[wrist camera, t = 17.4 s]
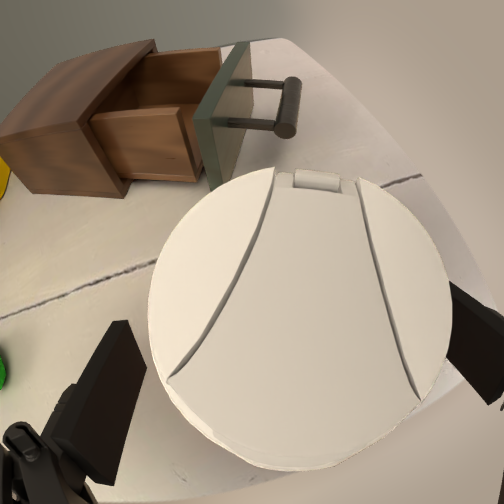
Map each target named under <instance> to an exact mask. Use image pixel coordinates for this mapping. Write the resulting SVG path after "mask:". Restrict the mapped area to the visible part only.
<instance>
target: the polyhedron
mask: <svg viewBox="0 0 504 504" xmlns="http://www.w3.org/2000/svg"><path fill="white" fill-rule="evenodd" d="M5 375H6V372H5V368H4V364H3V362H2V359H1V356H0V390H1V389H2V386H3V383H4V379H5Z"/></svg>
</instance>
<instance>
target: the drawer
mask: <svg viewBox="0 0 504 504" xmlns="http://www.w3.org/2000/svg"><path fill="white" fill-rule="evenodd" d="M253 87H254V88H270V89H282V93H281V98H280V102H279V107H278V112H277V116H276V121H275V120H264V119H251V118H250V115H251V112H252V109H253V106H254V100H253ZM301 90H302V82H301V80H300V79H298V78H297V77H288V78H286V79H285V81H284V82H283V81H273V80H257V79H252V68H251V52H250V42H237V43H236V45H235V46H234V48H233V49H232V51H231V52H230V54H229V55H228V57H227V59H226V60H225V62H224V63H223V64H222V57H221V49H220V47H216V48H197V49H185V50H174V51H166V52H158V53H151V54H146V55H145V56H144V57H143V58H142V59H141V60H140V61H139V62H138V63H137V64H136V65H135V66H134V67H133V68H132V69H131V70H130V71H129V72H128V73H127V74H126V75H125V77H124V78H123V79H122V80H121V81H120V82H119V83H118V84H117V85H116V86H115V88H114V89H113V90H112V91H111V92H110V93H109V94H108V96H107V97H106V98H105V99H104V100H103V102H102V103H101V104H100V105H99V106H98V108H97V109H96V110H95V111H94V113H93V114H92V115H91V117H90V118H89V119H88V120H87V123H88V125H89V127H90V128H91V130H92V132H93V134H94V136H95V137H96V139H97V141H98V143H99V144H100V146H101V148H102V150H103V151H104V153H105V155H106V157H107V158H108V160H109V162H110V164H111V165H112V167H113V169H114V170H115V172H116V174H117V175H118V177H119V178H130V179H151V180H168V181H182V182H195V183H196V182H197V181H198V178H199V176H200V173H201V170H202V168H203V165H204V167H205V171H206V175H207V179H208V182H209V186H210V190H211V192H212V191H213V190H215V189H216V188H218V187H219V186H221V185H223V184H225V183H227V182H229V181H230V179H231V176H232V173H233V169H234V166H235V163H236V160H237V156H238V153H239V150H240V147H241V144H242V140H243V137H244V134H245V131H246V129H256V130H268V131H274V133H275V134H276V135H277V136H278V137H280V138H282V139H290V138H292V137H294V136H295V134H296V130H297V122H298V114H299V106H300V98H301Z"/></svg>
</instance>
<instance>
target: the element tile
mask: <svg viewBox="0 0 504 504" xmlns="http://www.w3.org/2000/svg"><path fill="white" fill-rule="evenodd" d="M10 170H11V169H10V168H9V167H8V165H7V164H6V163H5V162H4V161H3V159H2V158H1V157H0V199H1V198H2V196H3V194H4V192H5V189H6V185H7V181H8V177H9V174H10Z"/></svg>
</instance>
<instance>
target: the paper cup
mask: <svg viewBox="0 0 504 504" xmlns="http://www.w3.org/2000/svg"><path fill="white" fill-rule="evenodd" d="M148 328H149V340H150V346H151V352H152V357H153V360H154V363H155V366H156V369H157V372H158V375H159V378H160V381H161V382H162V384H163V386H164V388H165V390H166V391H167V393H168V395H169V397H170V399H171V400H172V402H173V403H174V405H175V406H176V407H177V408H178V410H179V411H180V412H181V413H182V415H183V416H184V417H185V418H186V419H187V421H188V422H189V423H190V424H191V425H193V426H194V427H195V428H196V429H197V430H198V431H200V432H201V433H202V434H203V435H204V436H205V437H207V438H208V439H209V440H211V441H213V442H214V443H216V444H218V445H219V446H221V447H223V448H224V449H226V450H228V451H230V452H232V453H233V454H235V455H236V456H238V457H240V458H241V459H243V460H245V461H246V462H248V463H250V464H252V465H253V466H255V467H259V468H265V469H270V470H277V471H312V470H318V469H323V468H329V467H334V466H336V465H338V464H340V463H342V462H344V461H345V460H347V459H349V458H350V457H352V456H354V455H356V454H357V453H359V452H361V451H363V450H364V449H366V448H368V447H370V446H371V445H373V444H375V443H376V442H378V441H379V440H381V439H382V438H384V437H385V436H386V435H387V434H389V433H390V432H391V431H392V430H393V429H395V428H396V427H397V426H398V425H399V424H400V423H401V422H402V421H403V420H404V419H405V418H406V416H407V415H408V414H409V413H410V412H411V411H412V410H414V409H415V408H416V407H417V406H419V405H420V404H421V403H422V402H423V400H424V399H425V398H426V396H427V395H428V394H429V392H430V390H431V388H432V386H433V385H434V383H435V381H436V379H437V377H438V375H439V373H440V371H441V368H442V366H443V363H444V360H445V357H446V354H447V351H448V347H449V341H450V335H451V329H452V299H451V292H450V285H449V280H448V277H447V274H446V270H445V267H444V264H443V261H442V259H441V257H440V254H439V252H438V250H437V248H436V246H435V244H434V242H433V240H432V239H431V237H430V236H429V234H428V233H427V231H426V230H425V228H424V227H423V225H422V224H421V223H420V222H419V221H418V220H417V218H416V217H415V216H414V215H413V214H412V213H411V212H410V211H409V209H407V208H406V207H405V206H404V205H403V204H402V203H401V202H399V201H398V200H397V199H396V198H395V197H394V196H392V195H391V194H389V193H388V192H386V191H385V190H383V189H382V188H380V187H378V186H377V185H375V184H373V183H371V182H369V181H367V180H365V179H363V178H361V177H359V178H358V179H357V180H356V183H354V181H351V180H344V179H340V176H339V174H337V173H329V172H322V171H313V170H305V169H296V170H295V173H285V172H279V173H278V175H277V176H275V168H274V167H271V168H266V169H261V170H256V171H254V172H251V173H248V174H245V175H242V176H239V177H237V178H235V179H233V180H231V181H229V182H227V183H225V184H223V185H221V186H219V187H218V188H216V189H215V190H213V191H212V192H210V193H209V194H208V195H206V196H205V197H203V198H202V199H201V200H200V201H199V202H198V203H197V204H195V205H194V206H193V207H192V208H191V209H190V210H189V211H188V212H187V213H186V214H185V215H184V217H183V218H182V219H181V220H180V222H179V223H178V224H177V226H176V227H175V228H174V229H173V231H172V232H171V234H170V236H169V238H168V239H167V241H166V243H165V245H164V247H163V248H162V250H161V252H160V255H159V257H158V260H157V263H156V266H155V268H154V271H153V274H152V279H151V284H150V290H149V295H148Z"/></svg>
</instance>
